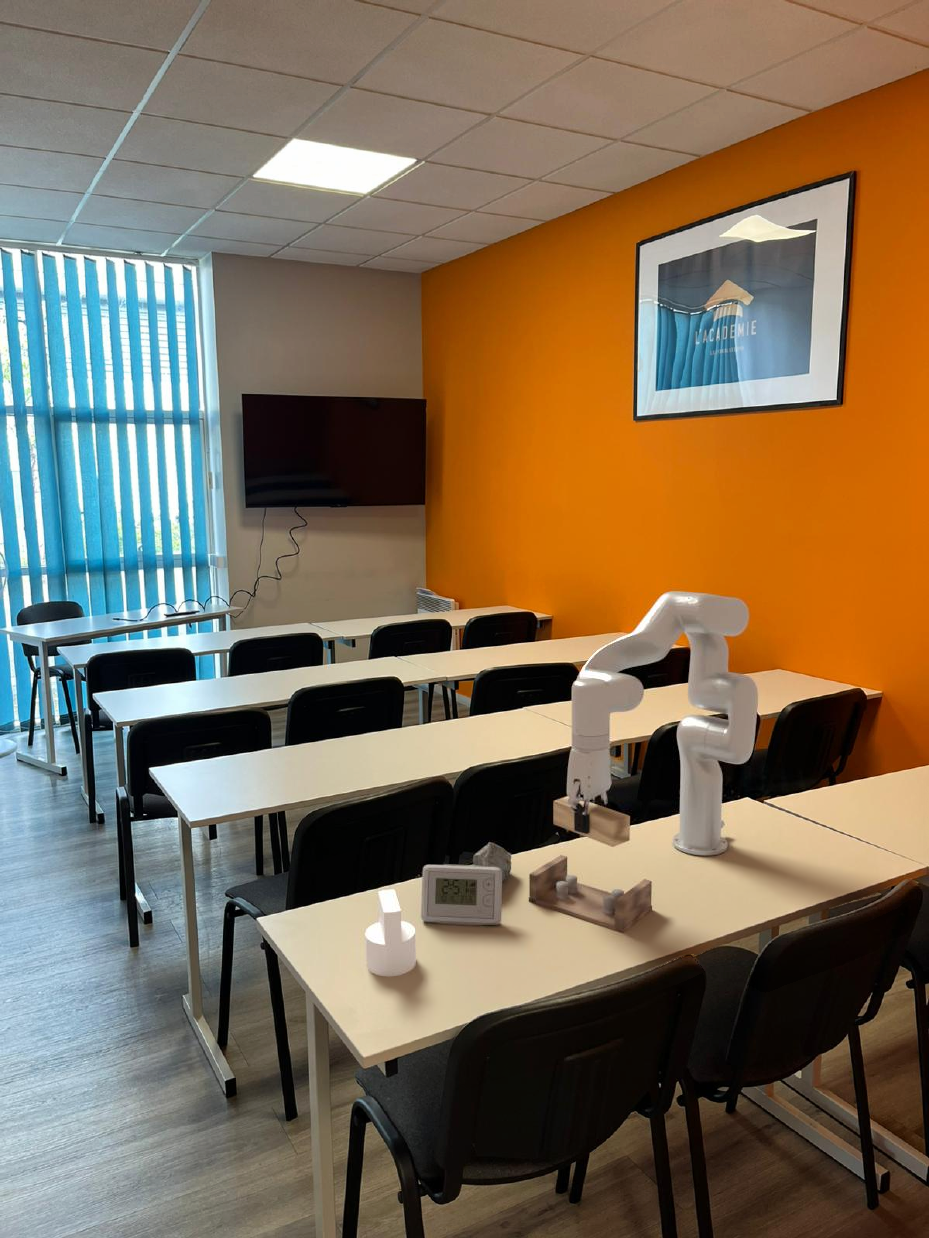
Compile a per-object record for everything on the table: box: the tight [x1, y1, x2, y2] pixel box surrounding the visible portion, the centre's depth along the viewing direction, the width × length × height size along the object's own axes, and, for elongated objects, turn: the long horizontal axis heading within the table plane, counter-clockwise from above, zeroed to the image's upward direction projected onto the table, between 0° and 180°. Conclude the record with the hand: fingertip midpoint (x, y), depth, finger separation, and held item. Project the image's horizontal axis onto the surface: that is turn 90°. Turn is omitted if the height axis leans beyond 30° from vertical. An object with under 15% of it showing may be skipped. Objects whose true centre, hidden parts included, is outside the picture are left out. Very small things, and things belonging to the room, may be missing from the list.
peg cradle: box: [528, 854, 653, 933], centre depth 183 cm, size 12×22×6 cm, turn 51°
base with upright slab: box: [364, 889, 417, 977], centre depth 162 cm, size 9×9×12 cm
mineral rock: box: [472, 841, 512, 882], centre depth 193 cm, size 13×11×10 cm
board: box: [552, 795, 631, 848], centre depth 181 cm, size 5×16×5 cm, turn 40°
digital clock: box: [420, 863, 503, 926], centre depth 178 cm, size 16×9×11 cm, turn 71°
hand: (590, 826), depth 181 cm, fingers closed on board, 5 cm apart
